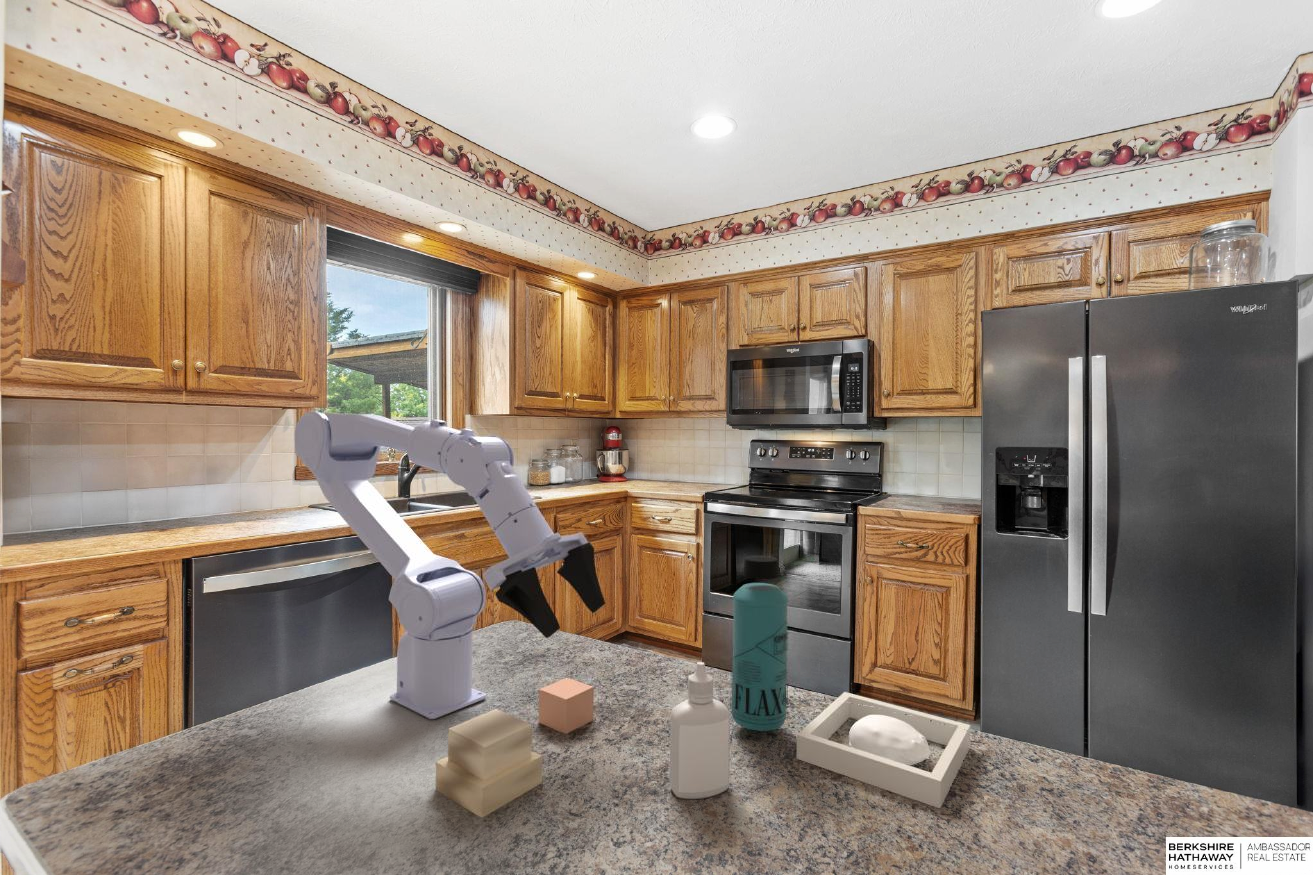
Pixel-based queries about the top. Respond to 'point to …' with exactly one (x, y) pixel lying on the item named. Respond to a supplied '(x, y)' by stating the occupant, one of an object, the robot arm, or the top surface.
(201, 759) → the top surface
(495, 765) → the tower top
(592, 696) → the terracotta block
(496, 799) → the tower base
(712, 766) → the eye dropper bottle
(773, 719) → the beverage bottle
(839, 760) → the garlic dish
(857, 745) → the white rounded lump
